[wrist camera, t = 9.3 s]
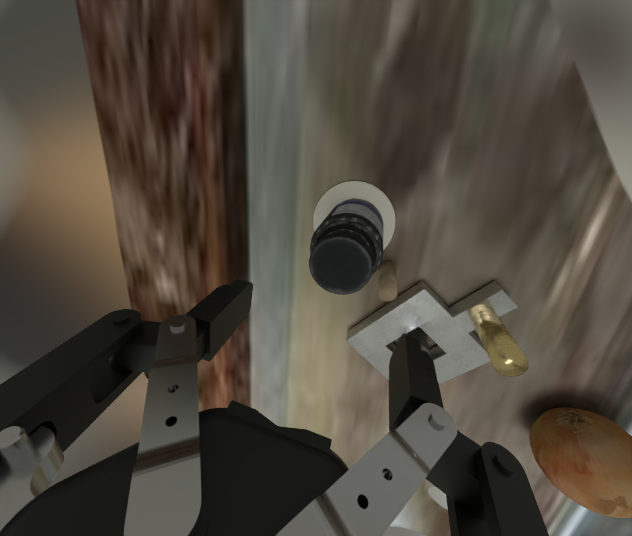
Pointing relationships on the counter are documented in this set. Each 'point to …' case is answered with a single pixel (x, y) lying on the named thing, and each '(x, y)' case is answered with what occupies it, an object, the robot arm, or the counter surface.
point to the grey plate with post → (444, 331)
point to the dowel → (387, 281)
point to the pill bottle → (347, 247)
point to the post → (421, 338)
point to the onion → (585, 459)
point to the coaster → (359, 192)
